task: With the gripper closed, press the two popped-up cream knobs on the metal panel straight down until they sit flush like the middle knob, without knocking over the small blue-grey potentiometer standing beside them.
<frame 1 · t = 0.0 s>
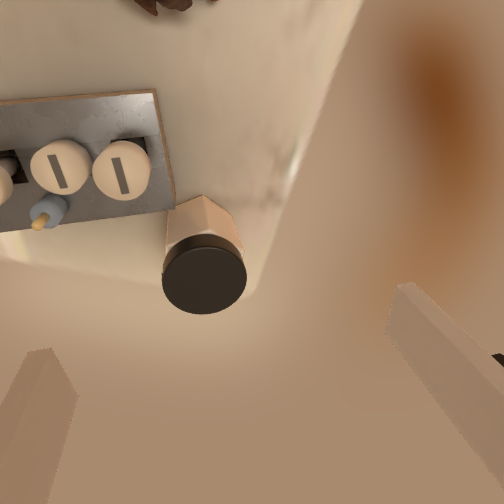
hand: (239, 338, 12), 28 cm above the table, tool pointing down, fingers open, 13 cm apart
potentiometer: (54, 205, 31), point 5 cm above the table, touching panel
jar: (198, 227, 41), on the table
panel: (84, 153, 33), on the table
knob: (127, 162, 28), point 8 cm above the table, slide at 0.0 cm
knob middle: (71, 159, 30), point 4 cm above the table, slide at 3.3 cm
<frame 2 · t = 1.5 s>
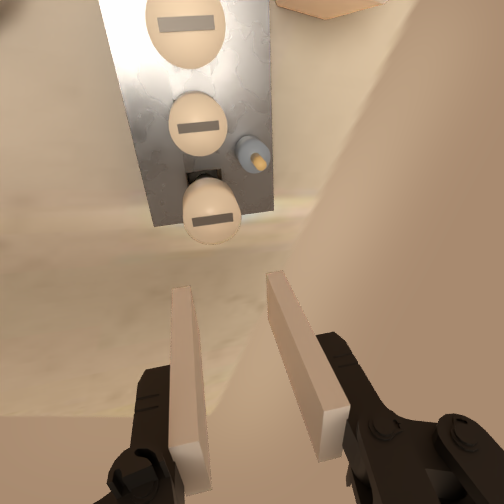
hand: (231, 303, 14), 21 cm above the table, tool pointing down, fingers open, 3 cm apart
potentiometer: (249, 150, 26), point 5 cm above the table, touching panel
panel: (199, 110, 29), on the table
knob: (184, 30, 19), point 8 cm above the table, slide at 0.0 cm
knob middle: (195, 118, 25), point 4 cm above the table, slide at 3.3 cm
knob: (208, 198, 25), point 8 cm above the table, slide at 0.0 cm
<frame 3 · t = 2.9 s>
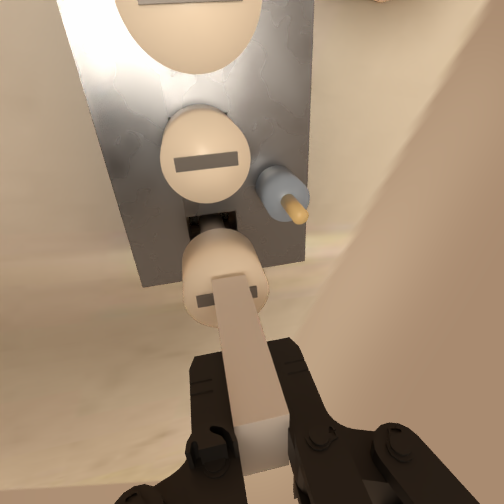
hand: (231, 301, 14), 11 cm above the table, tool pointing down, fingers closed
potentiometer: (275, 185, 19), point 5 cm above the table, touching panel
panel: (203, 127, 21), on the table
knob middle: (200, 142, 17), point 4 cm above the table, slide at 3.3 cm
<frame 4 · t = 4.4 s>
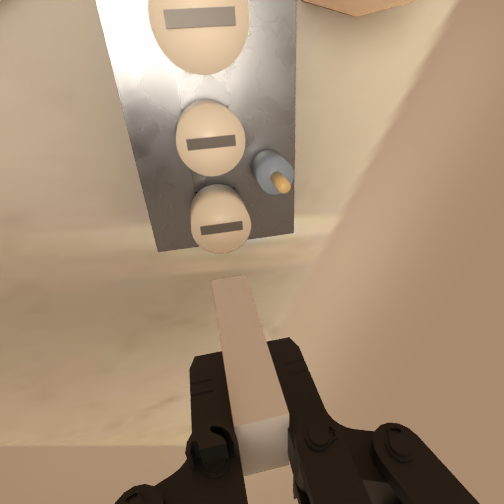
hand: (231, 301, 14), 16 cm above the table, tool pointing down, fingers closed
potentiometer: (267, 166, 23), point 5 cm above the table, touching panel
panel: (210, 120, 25), on the table
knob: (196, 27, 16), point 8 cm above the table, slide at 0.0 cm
knob middle: (207, 130, 22), point 4 cm above the table, slide at 3.3 cm
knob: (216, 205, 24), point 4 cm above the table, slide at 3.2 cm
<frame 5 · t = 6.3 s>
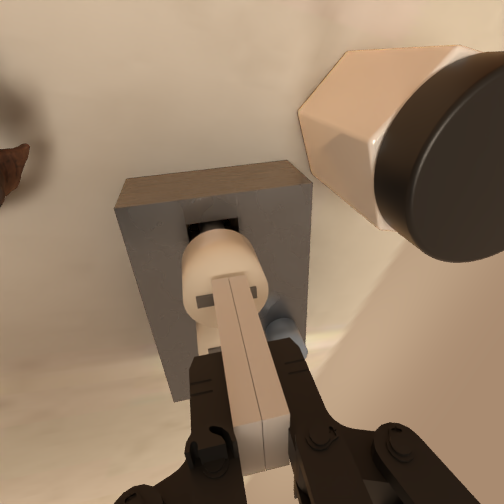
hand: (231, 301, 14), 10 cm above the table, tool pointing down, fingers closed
potentiometer: (280, 329, 24), point 5 cm above the table, touching panel
jar: (354, 122, 22), on the table
panel: (222, 270, 26), on the table
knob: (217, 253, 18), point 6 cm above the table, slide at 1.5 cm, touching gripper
knob middle: (223, 305, 22), point 4 cm above the table, slide at 3.3 cm
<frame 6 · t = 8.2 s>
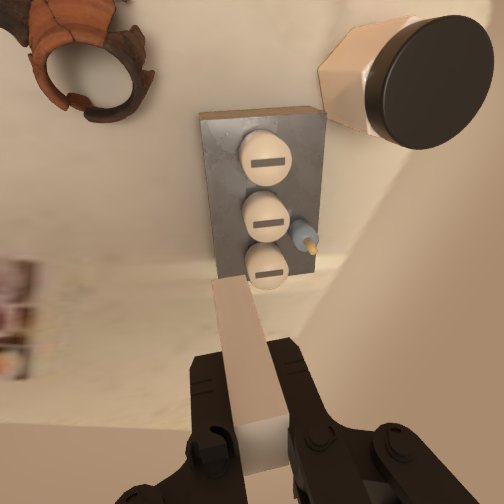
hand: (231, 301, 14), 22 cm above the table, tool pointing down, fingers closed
potentiometer: (299, 229, 33), point 5 cm above the table, touching panel
jar: (357, 80, 32), on the table
panel: (257, 191, 36), on the table
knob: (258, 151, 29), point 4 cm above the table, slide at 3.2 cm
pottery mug: (86, 40, 27), on the table
knob middle: (260, 206, 32), point 4 cm above the table, slide at 3.3 cm
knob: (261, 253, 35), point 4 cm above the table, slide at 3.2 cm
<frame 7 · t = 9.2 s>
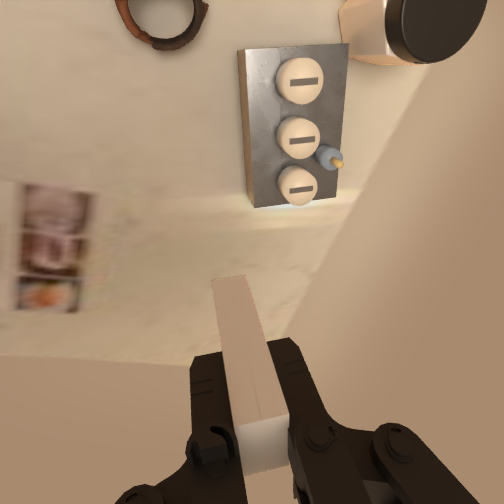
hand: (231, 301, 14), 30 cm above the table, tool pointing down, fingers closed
potentiometer: (324, 154, 38), point 5 cm above the table, touching panel
jar: (371, 21, 37), on the table
panel: (284, 126, 41), on the table
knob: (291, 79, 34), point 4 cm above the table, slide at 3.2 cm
knob middle: (291, 133, 37), point 4 cm above the table, slide at 3.3 cm
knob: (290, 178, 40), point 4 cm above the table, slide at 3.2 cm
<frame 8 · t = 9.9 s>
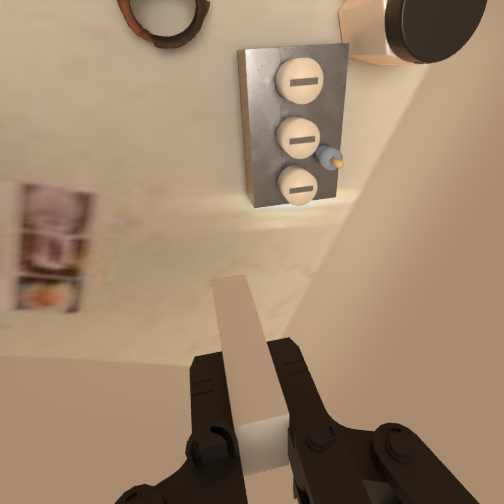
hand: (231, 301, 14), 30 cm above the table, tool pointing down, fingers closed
potentiometer: (324, 154, 38), point 5 cm above the table, touching panel
jar: (370, 21, 37), on the table
panel: (284, 126, 41), on the table
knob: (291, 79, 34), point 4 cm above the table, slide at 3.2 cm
knob middle: (291, 133, 37), point 4 cm above the table, slide at 3.3 cm
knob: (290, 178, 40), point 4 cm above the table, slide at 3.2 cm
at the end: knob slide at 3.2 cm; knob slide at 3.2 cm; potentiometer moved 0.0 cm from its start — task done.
